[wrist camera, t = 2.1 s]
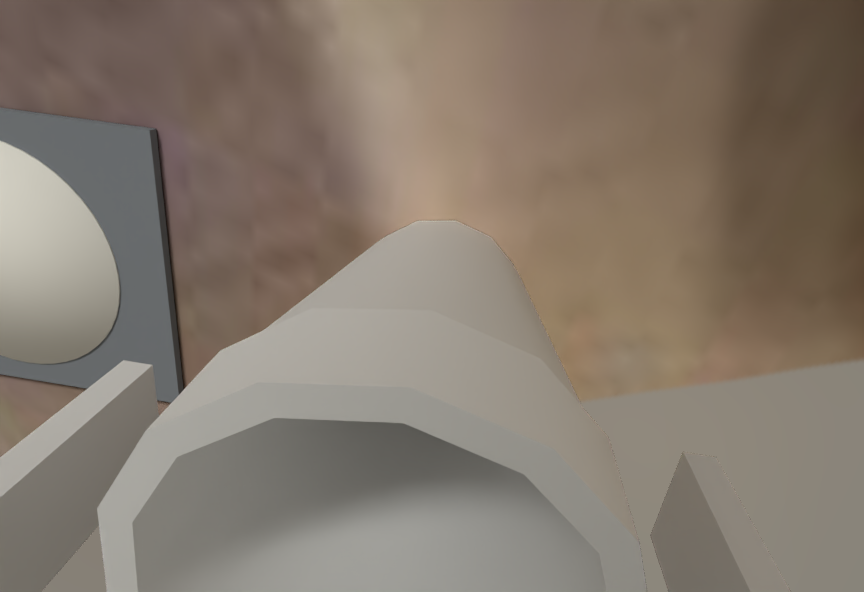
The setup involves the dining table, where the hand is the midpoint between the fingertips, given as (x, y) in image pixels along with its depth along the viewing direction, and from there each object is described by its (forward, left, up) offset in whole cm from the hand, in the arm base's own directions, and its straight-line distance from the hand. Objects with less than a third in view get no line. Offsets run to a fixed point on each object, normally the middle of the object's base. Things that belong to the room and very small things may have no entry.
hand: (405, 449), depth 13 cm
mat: (+1, -18, -9) cm, 20 cm away
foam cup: (0, 0, -9) cm, 9 cm away
